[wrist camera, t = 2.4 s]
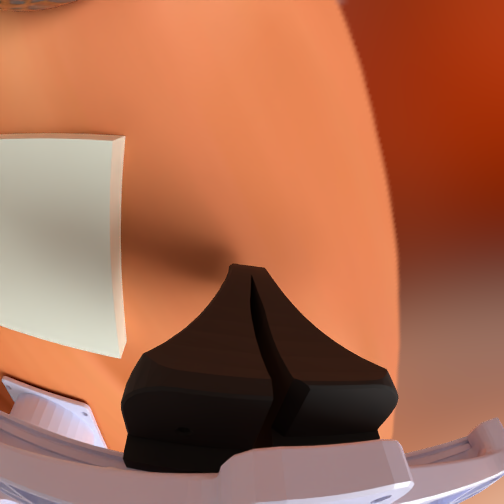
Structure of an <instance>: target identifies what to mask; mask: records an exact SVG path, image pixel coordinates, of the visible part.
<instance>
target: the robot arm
mask: <svg viewBox="0 0 504 504" xmlns="http://www.w3.org/2000/svg"><path fill="white" fill-rule="evenodd" d="M2 382H3V384H4V385H5V387H6V389H7V391H8V392H9V394H10V396H11V397H12V399H13V401H14V402H15V403H14V405H13V408H12V410H11V412H10V414H7V413H5V412H3V411H1V410H0V504H458V503H460V502H462V501H464V500H466V499H468V498H470V497H472V496H474V495H476V494H478V493H479V492H481V491H482V490H484V489H485V488H487V487H488V486H490V485H491V484H493V483H494V482H495V481H497V480H498V479H499V478H501V477H502V476H503V475H504V428H503V426H502V424H501V423H500V421H499V419H498V418H493V419H491V420H488V421H485V422H483V423H481V424H479V425H477V426H476V427H475V428H474V429H473V430H472V431H471V432H470V433H469V434H468V435H467V436H466V437H463V438H460V439H457V440H454V441H451V442H448V443H444V444H441V445H437V446H434V447H430V448H426V449H423V450H418V451H414V452H410V453H405V454H404V452H403V449H402V446H401V445H400V444H399V442H398V441H396V440H392V439H380V437H379V434H378V431H377V429H378V428H379V427H380V426H381V425H382V423H383V422H384V421H385V420H386V419H387V418H388V416H389V415H390V414H391V413H392V411H393V410H394V408H395V407H396V405H397V402H398V394H397V391H396V388H395V386H394V384H393V382H392V379H391V377H390V375H389V373H388V371H387V369H385V368H382V367H380V366H378V365H376V364H374V363H372V362H369V361H367V360H365V359H363V358H361V357H359V356H358V355H356V354H354V353H352V352H351V351H349V350H347V349H345V348H344V347H342V346H341V345H339V344H338V343H336V342H335V341H333V340H332V339H331V338H329V337H328V336H327V335H325V334H324V333H323V332H321V331H320V330H319V329H318V328H316V327H315V326H314V325H313V324H312V323H311V322H310V321H309V320H307V319H306V318H305V317H304V316H303V315H302V314H301V313H300V312H299V311H298V309H297V308H296V307H295V306H294V305H293V304H292V303H291V302H290V301H289V299H288V298H287V297H286V296H285V295H284V293H283V292H282V291H281V290H280V288H279V287H278V286H277V284H276V283H275V281H274V280H273V279H272V277H271V276H270V274H269V273H268V272H267V270H266V269H265V268H262V267H254V266H247V265H239V264H232V265H230V266H229V271H228V274H227V277H226V279H225V281H224V283H223V284H222V286H221V288H220V290H219V291H218V293H217V294H216V295H215V297H214V298H213V300H212V301H211V302H210V304H209V305H208V306H207V307H206V308H205V309H204V311H203V312H202V313H201V314H200V315H199V316H198V317H197V318H196V319H195V320H194V321H193V322H191V323H190V324H189V325H188V326H187V327H186V328H185V329H183V330H182V331H181V332H179V333H178V334H176V335H175V336H173V337H172V338H171V339H169V340H168V341H166V342H165V343H163V344H161V345H159V346H157V347H156V348H154V349H152V350H150V351H148V352H146V353H144V354H143V355H142V356H141V358H140V359H139V361H138V362H137V364H136V366H135V368H134V369H133V371H132V373H131V375H130V377H129V379H128V382H127V384H126V387H125V390H124V394H123V397H122V401H121V411H122V415H123V418H124V422H125V426H126V429H127V432H128V436H127V440H126V445H125V450H124V453H122V452H118V451H114V450H110V449H108V448H107V446H106V444H105V442H104V440H103V437H102V435H101V433H100V430H99V428H98V426H97V423H96V421H95V418H94V416H93V413H92V411H91V408H90V407H89V406H88V405H87V404H86V403H83V402H79V401H76V400H73V399H69V398H66V397H63V396H59V395H56V394H53V393H50V392H47V391H44V390H41V389H39V388H36V387H33V386H30V385H28V384H25V383H22V382H20V381H17V380H15V379H12V378H10V377H7V376H3V378H2Z"/></svg>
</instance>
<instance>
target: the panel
mask: <svg viewBox="0 0 504 504" xmlns="http://www.w3.org/2000/svg"><path fill="white" fill-rule="evenodd" d="M124 146H125V136H121V135H104V134H79V133H19V134H0V326H3V327H6V328H9V329H12V330H15V331H18V332H21V333H24V334H27V335H30V336H34V337H37V338H40V339H44V340H47V341H50V342H54V343H58V344H61V345H65V346H69V347H72V348H76V349H80V350H84V351H89V352H93V353H97V354H101V355H106V356H110V357H115V358H120V359H121V356H122V353H123V350H124V347H125V344H126V342H127V339H126V329H125V318H124V305H123V290H122V268H121V196H122V174H123V159H124Z"/></svg>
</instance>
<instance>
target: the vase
mask: <svg viewBox="0 0 504 504" xmlns="http://www.w3.org/2000/svg"><path fill="white" fill-rule="evenodd" d="M74 1H77V0H0V10H6V11H35V10H42V9H48V8H53V7H58V6H61V5H65V4H68V3H71V2H74Z"/></svg>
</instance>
